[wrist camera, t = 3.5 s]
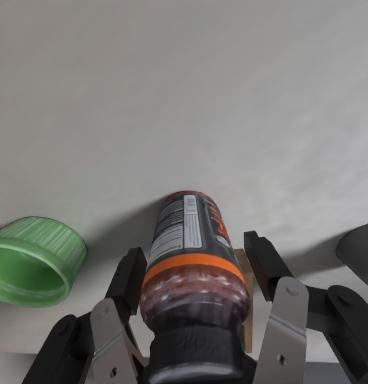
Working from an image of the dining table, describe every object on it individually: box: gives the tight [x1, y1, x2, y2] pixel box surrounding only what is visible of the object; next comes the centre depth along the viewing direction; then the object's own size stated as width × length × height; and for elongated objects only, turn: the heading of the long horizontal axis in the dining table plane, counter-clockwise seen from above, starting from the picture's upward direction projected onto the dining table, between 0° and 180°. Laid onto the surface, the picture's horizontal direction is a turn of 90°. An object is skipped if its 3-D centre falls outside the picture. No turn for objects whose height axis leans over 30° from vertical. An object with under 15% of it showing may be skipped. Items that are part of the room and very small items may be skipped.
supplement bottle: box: [139, 191, 250, 384], centre depth 11 cm, size 6×6×11 cm
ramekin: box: [0, 217, 87, 308], centre depth 16 cm, size 9×9×4 cm
